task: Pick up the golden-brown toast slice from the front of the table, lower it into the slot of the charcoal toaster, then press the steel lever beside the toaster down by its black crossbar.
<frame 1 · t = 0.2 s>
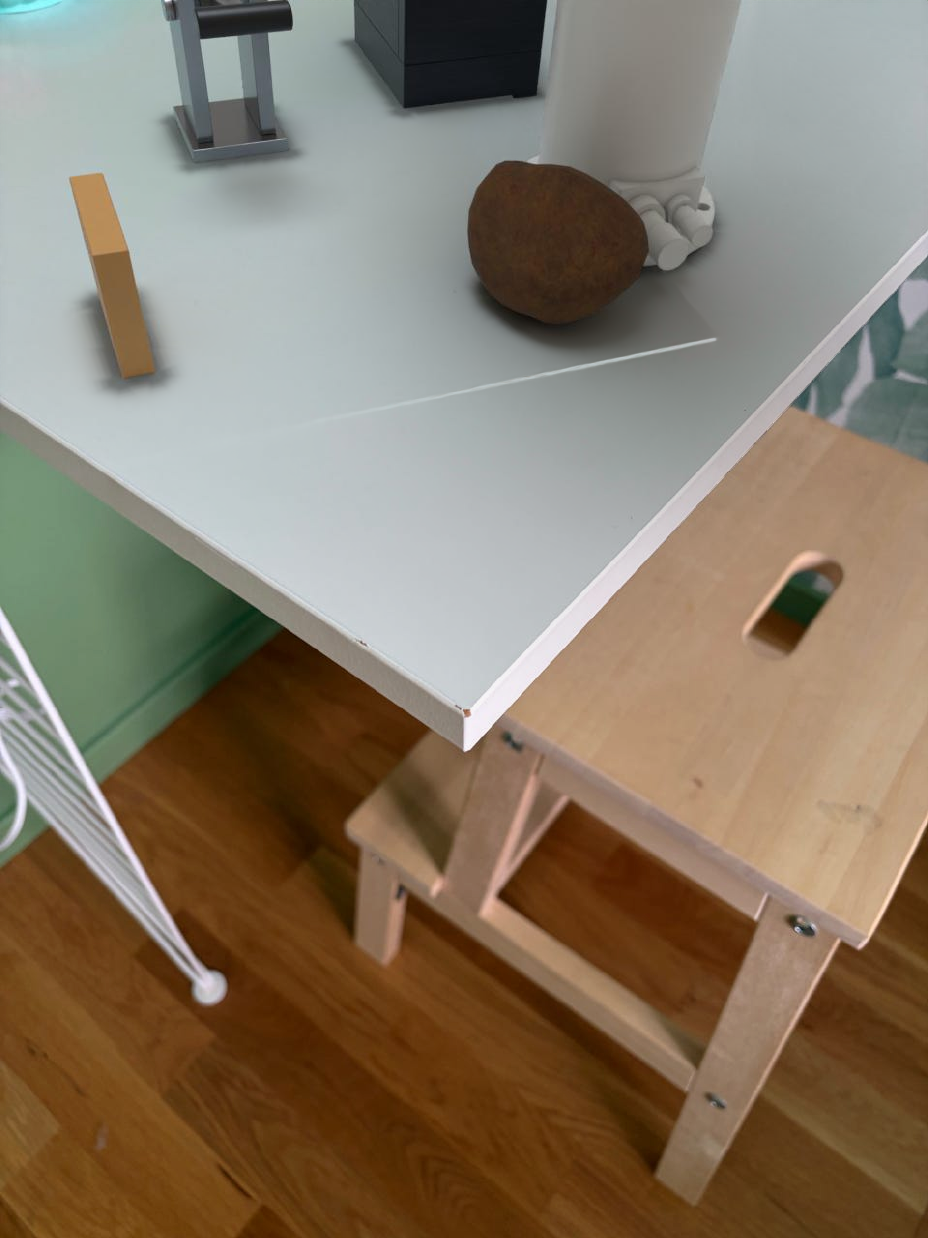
potato: (544, 312, 57), on the table
lever bracket: (231, 137, 66), on the table
toast: (127, 337, 53), on the table
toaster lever: (227, 9, 58), point 9 cm above the table, hinge at 15.0°
toaster: (443, 68, 74), on the table
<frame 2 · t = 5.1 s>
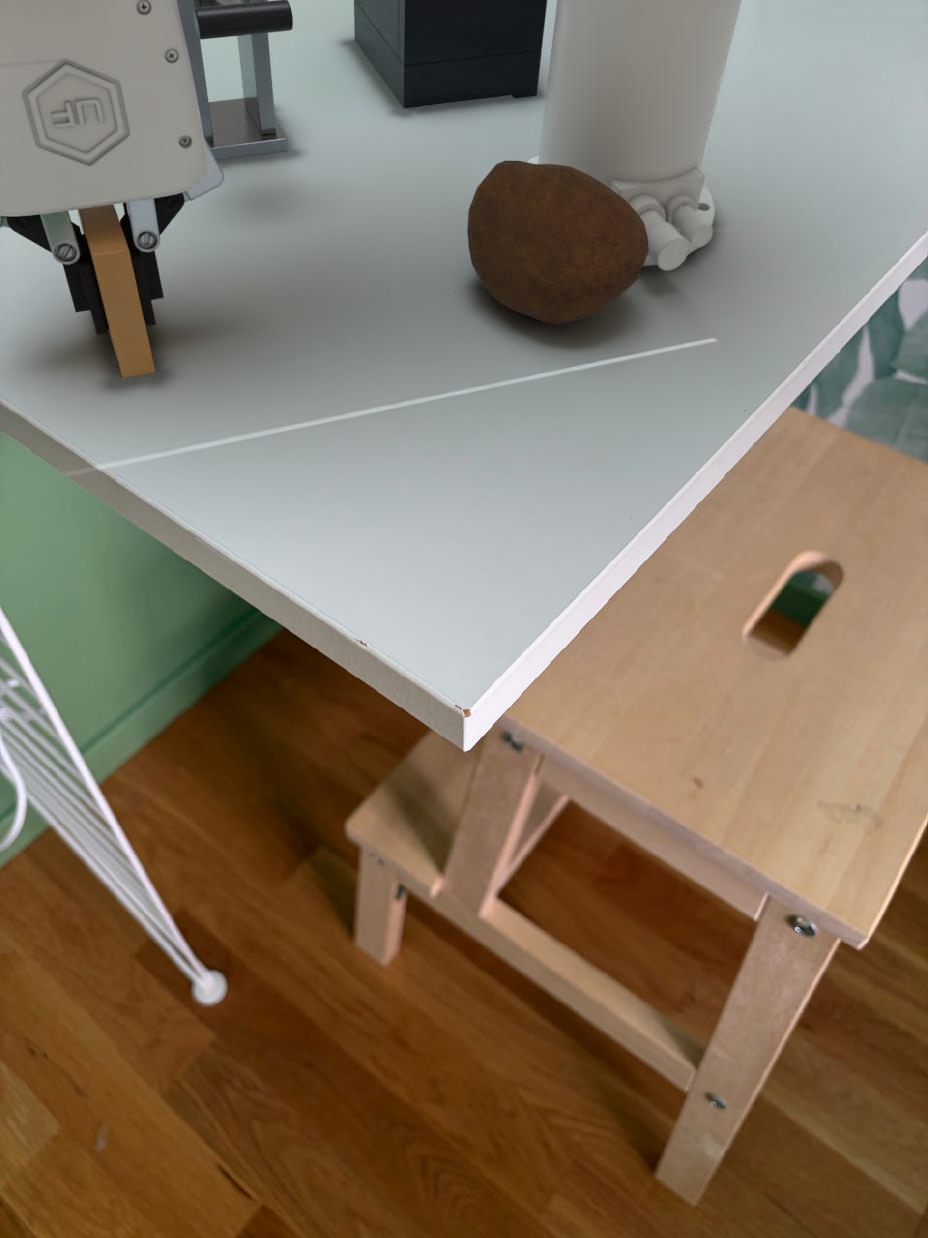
hand: (121, 312, 52), 2 cm above the table, tool pointing down, fingers closed on toast, 1 cm apart
toast: (127, 337, 53), on the table, touching gripper
everything else where it was.
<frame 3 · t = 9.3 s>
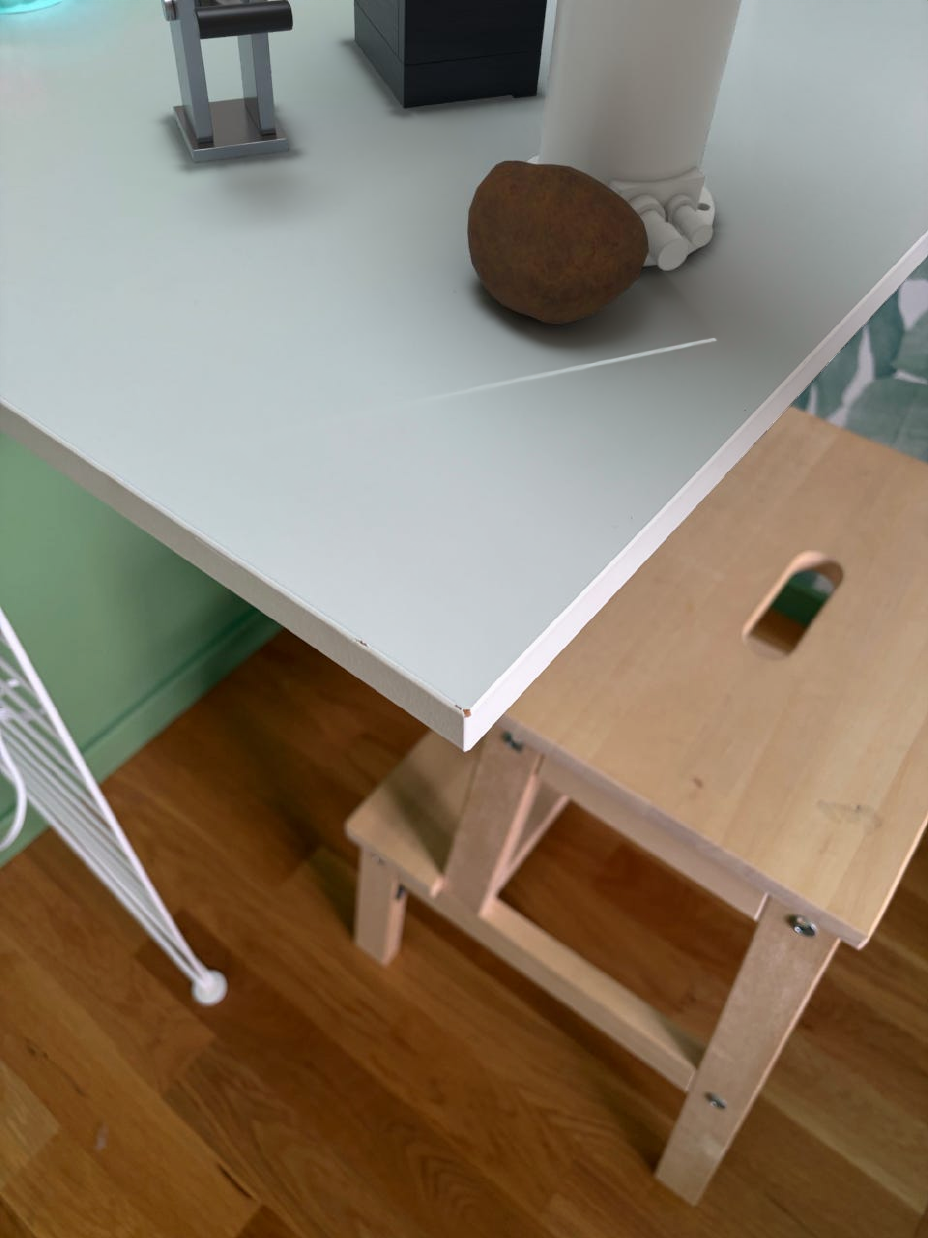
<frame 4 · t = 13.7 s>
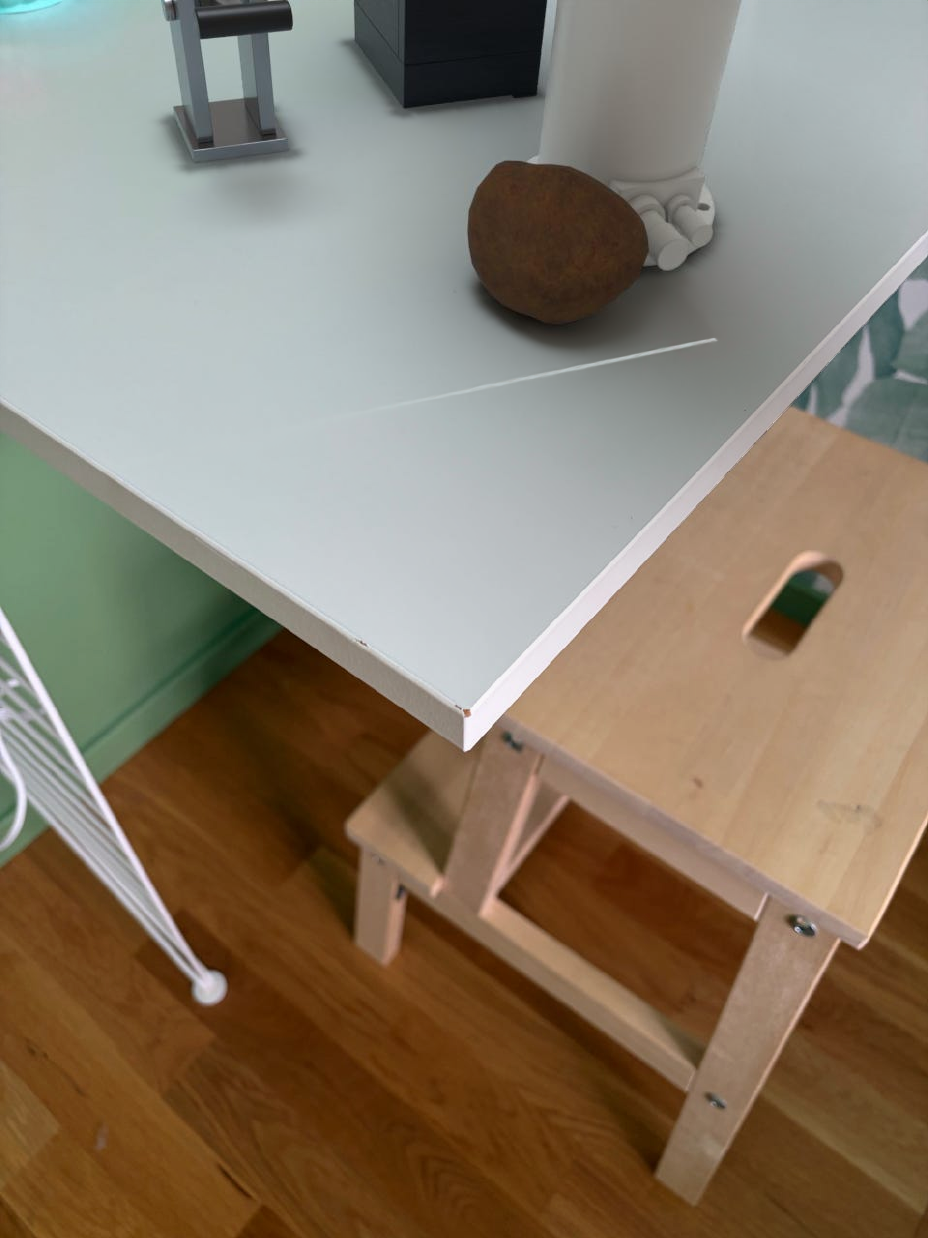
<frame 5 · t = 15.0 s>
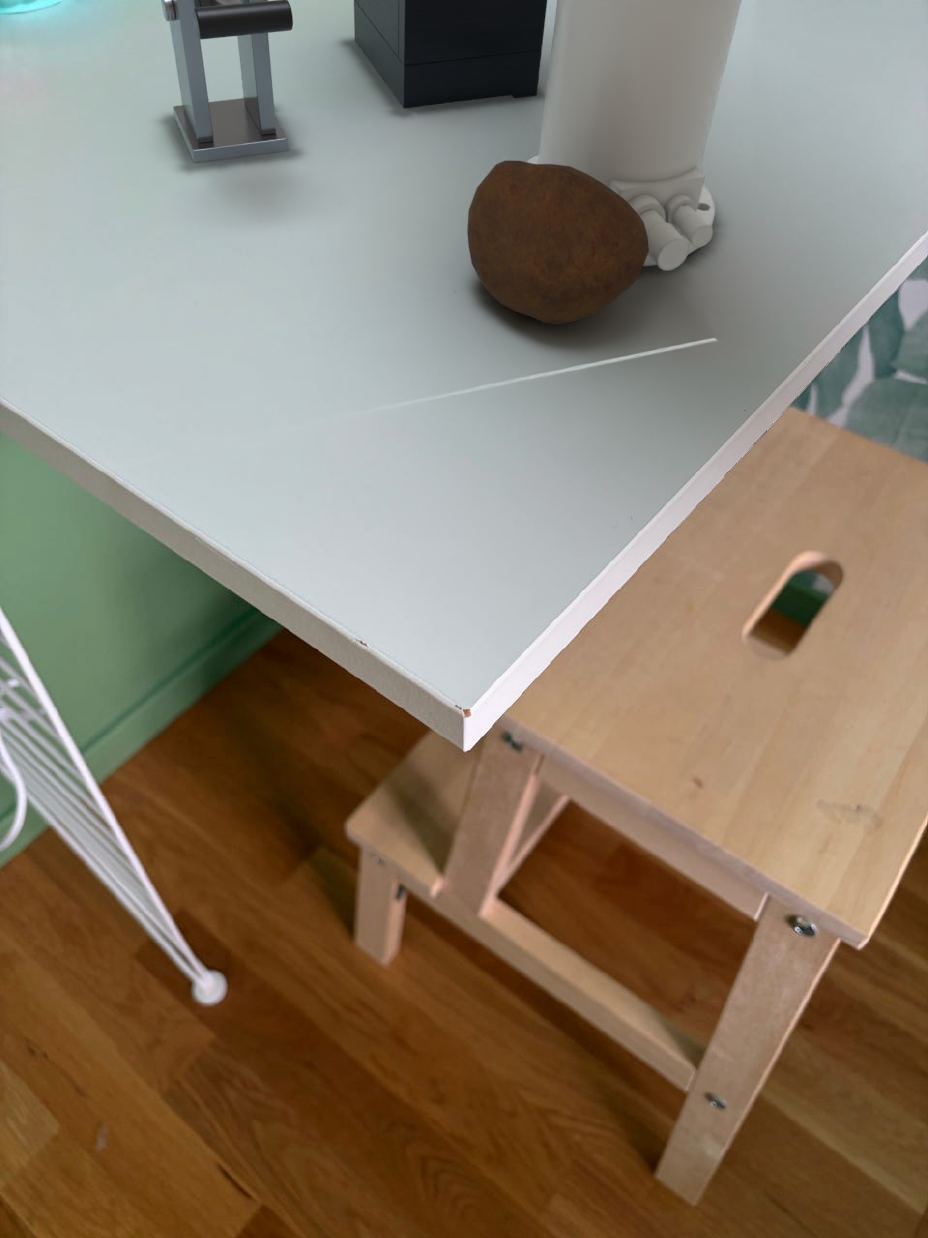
toast: (445, 23, 72), point 3 cm above the table, touching toaster
everything else where it was.
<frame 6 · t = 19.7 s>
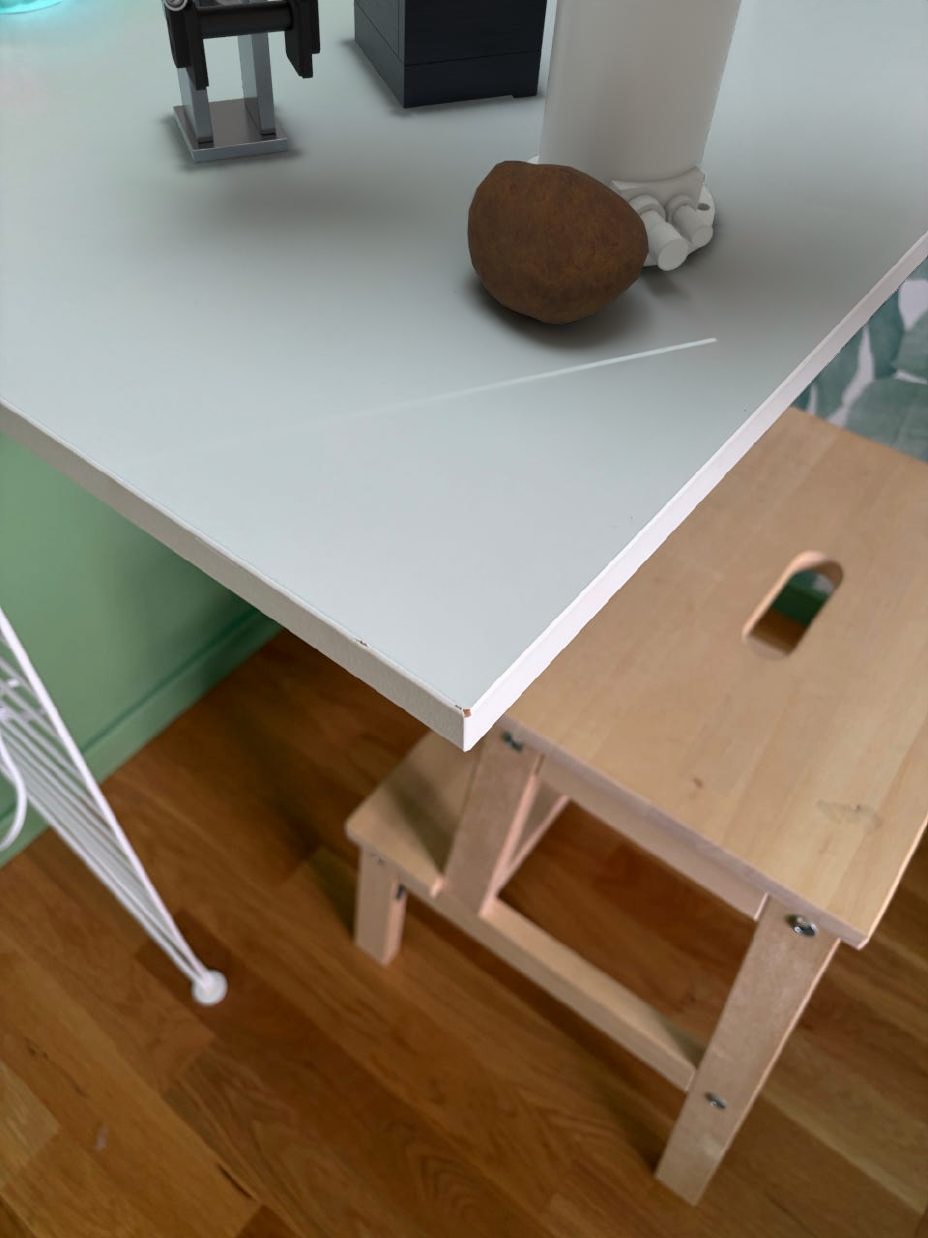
hand: (248, 69, 56), 7 cm above the table, tool pointing down, fingers closed on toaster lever, 5 cm apart
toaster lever: (227, 9, 58), point 9 cm above the table, hinge at 15.0°, touching gripper
everything else where it was.
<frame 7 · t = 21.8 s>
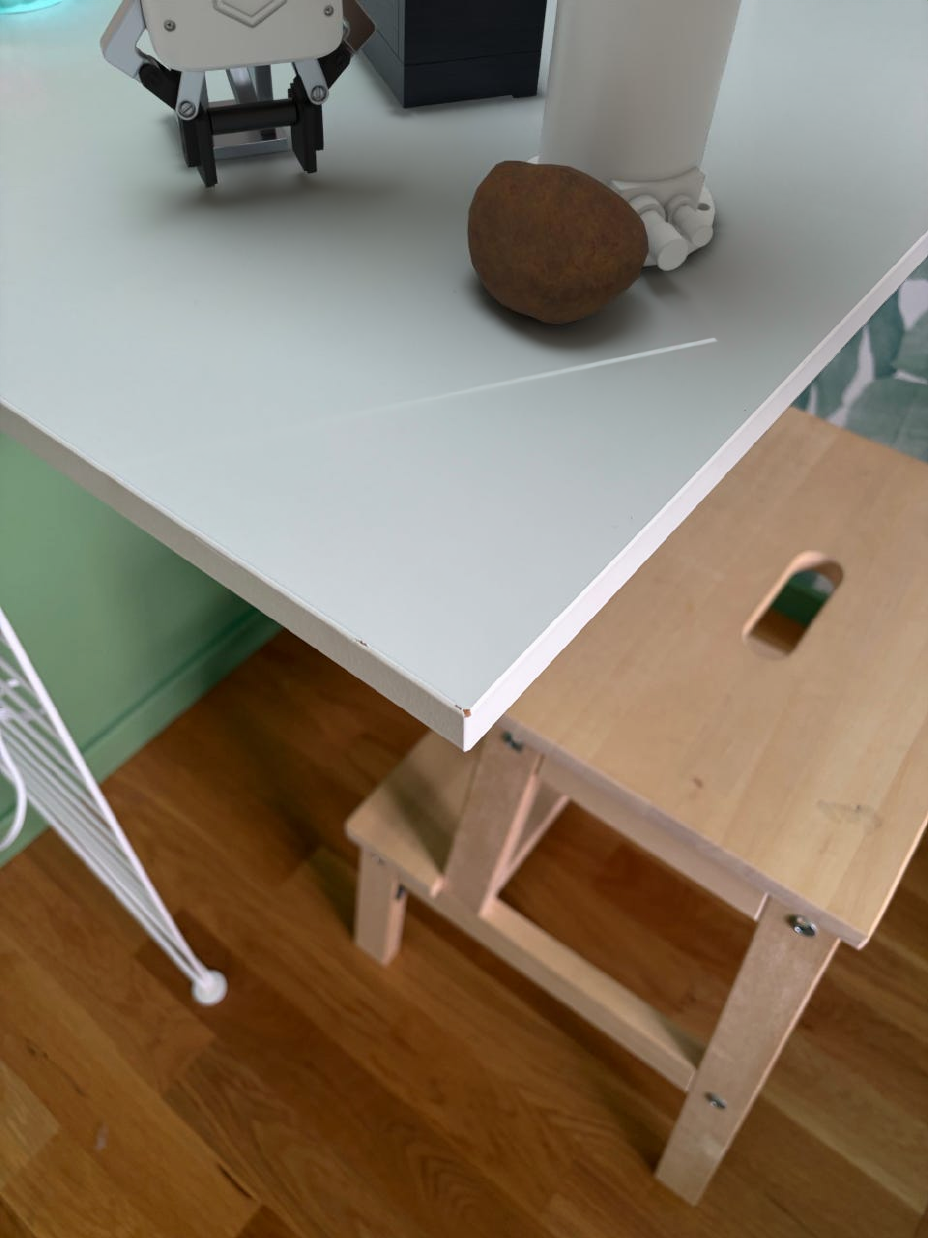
hand: (255, 165, 61), 2 cm above the table, tool pointing down, fingers open, 5 cm apart
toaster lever: (231, 53, 60), point 7 cm above the table, hinge at -24.0°
everything else where it was.
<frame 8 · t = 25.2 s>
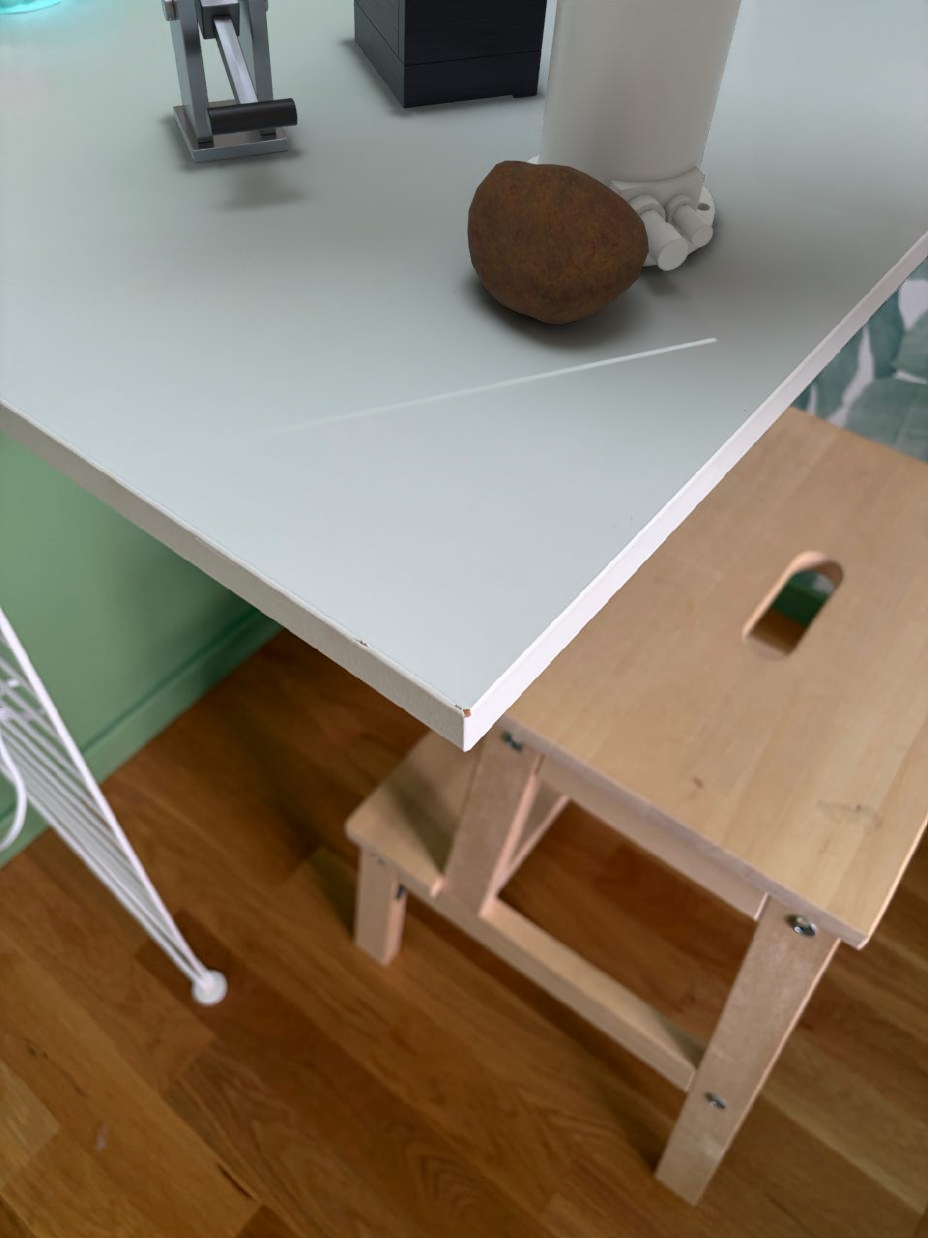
nothing on the table moved.
at the end: toast 0.0 cm off-centre on the toaster, point 3.0 cm above the toaster's base; toast tilted 0°; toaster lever at -24° (first picture: +15°) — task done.
